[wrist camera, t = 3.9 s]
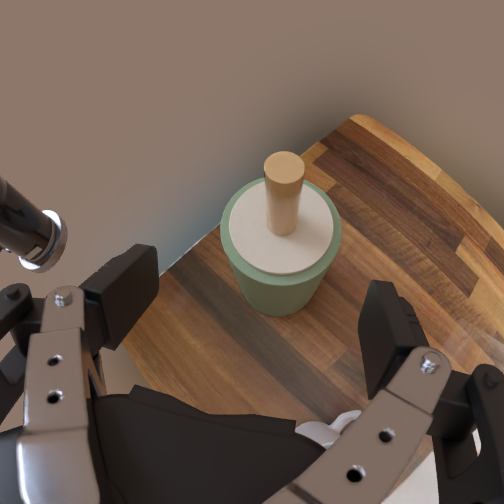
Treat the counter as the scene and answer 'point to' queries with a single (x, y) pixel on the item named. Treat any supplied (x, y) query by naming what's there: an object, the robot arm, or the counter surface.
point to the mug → (327, 428)
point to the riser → (278, 286)
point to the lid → (281, 220)
